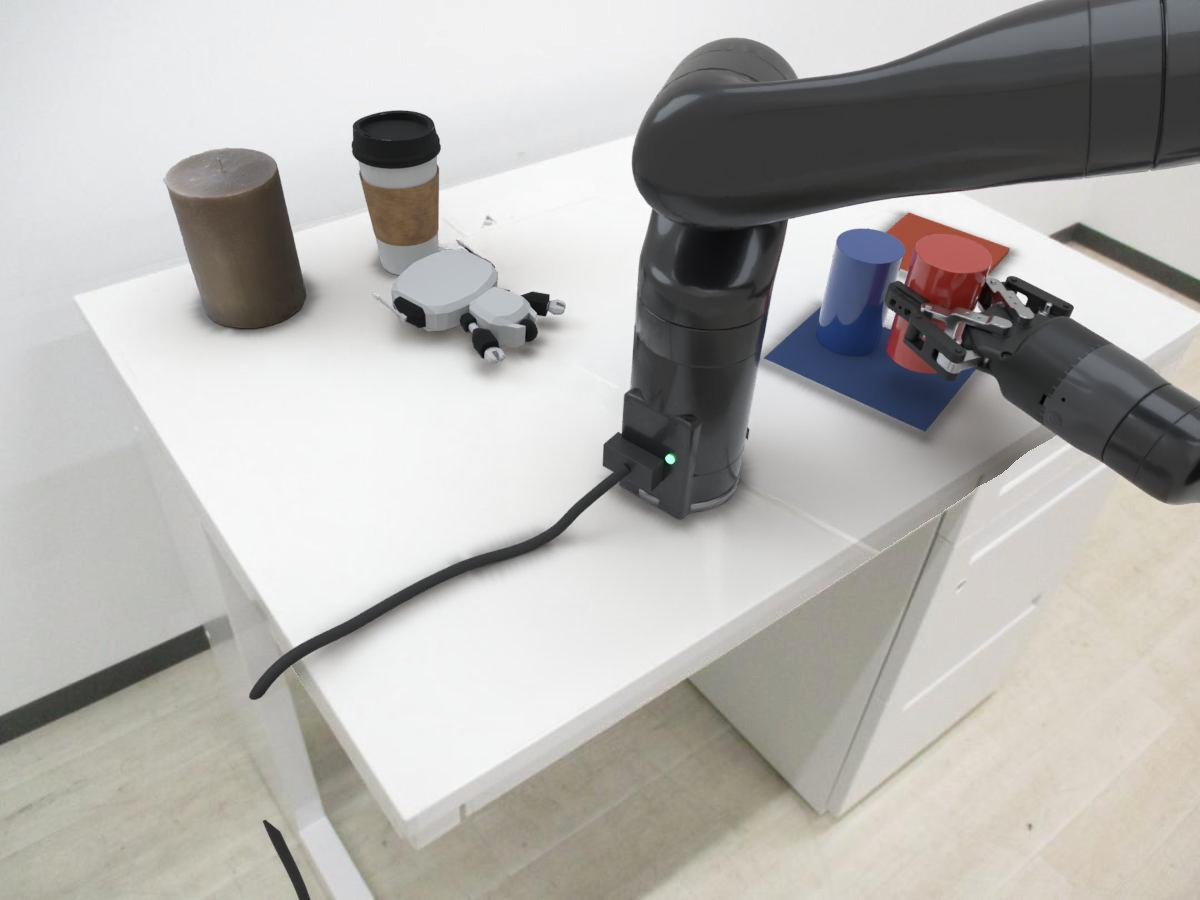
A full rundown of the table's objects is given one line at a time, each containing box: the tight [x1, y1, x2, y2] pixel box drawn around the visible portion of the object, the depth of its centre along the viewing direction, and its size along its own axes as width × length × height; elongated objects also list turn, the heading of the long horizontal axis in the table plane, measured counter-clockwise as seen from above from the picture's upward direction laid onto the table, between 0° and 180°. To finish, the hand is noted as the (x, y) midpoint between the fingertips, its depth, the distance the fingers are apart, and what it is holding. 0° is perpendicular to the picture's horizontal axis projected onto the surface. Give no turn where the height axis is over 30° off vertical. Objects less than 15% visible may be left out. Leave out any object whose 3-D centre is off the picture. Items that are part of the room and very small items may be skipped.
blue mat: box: [763, 306, 976, 433], centre depth 88 cm, size 12×16×1 cm
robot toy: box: [371, 239, 567, 365], centre depth 90 cm, size 12×4×15 cm
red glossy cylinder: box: [886, 234, 992, 374], centre depth 79 cm, size 6×6×10 cm
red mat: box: [885, 212, 1011, 275], centre depth 103 cm, size 12×12×1 cm
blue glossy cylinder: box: [816, 228, 905, 356], centre depth 87 cm, size 6×6×10 cm
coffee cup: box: [351, 109, 442, 276], centre depth 94 cm, size 8×8×15 cm
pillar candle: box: [162, 147, 307, 329], centre depth 88 cm, size 10×10×15 cm
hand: (918, 280), depth 80 cm, fingers closed on red glossy cylinder, 6 cm apart
